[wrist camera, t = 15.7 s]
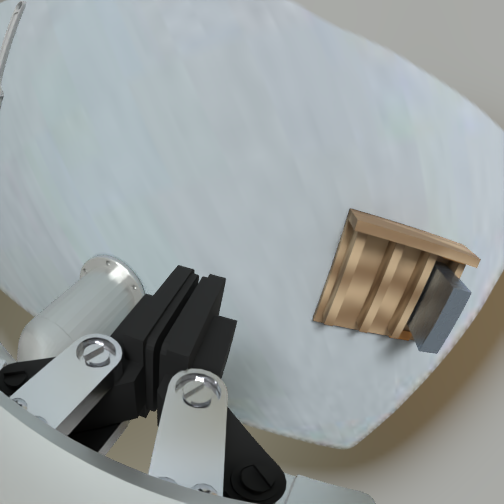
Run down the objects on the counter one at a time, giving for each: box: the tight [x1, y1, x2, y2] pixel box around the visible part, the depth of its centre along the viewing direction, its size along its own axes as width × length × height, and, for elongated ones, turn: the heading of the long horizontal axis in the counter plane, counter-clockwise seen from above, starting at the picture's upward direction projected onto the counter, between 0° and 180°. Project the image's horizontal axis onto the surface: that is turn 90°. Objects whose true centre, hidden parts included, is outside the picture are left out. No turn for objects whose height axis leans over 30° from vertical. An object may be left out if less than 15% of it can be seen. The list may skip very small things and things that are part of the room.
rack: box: [313, 208, 481, 341], centre depth 35 cm, size 16×18×5 cm
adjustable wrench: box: [0, 1, 26, 108], centre depth 30 cm, size 25×6×2 cm, turn 158°
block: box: [407, 261, 471, 354], centre depth 32 cm, size 9×3×8 cm, turn 168°
